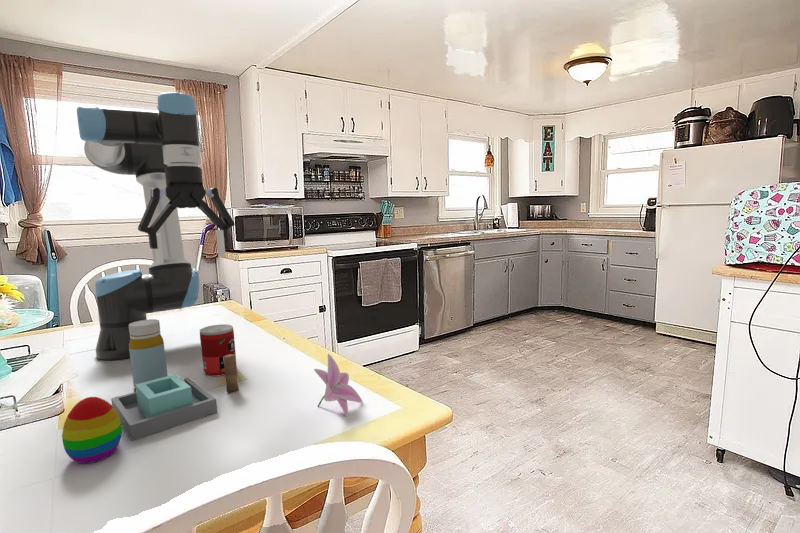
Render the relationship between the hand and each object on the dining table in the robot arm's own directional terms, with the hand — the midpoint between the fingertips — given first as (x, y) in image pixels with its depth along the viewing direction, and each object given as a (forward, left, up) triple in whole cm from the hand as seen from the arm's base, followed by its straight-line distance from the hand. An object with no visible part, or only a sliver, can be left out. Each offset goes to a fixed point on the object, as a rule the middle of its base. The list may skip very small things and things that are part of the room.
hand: (192, 260), depth 103 cm
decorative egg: (+21, -25, -29) cm, 44 cm away
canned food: (-3, +5, -29) cm, 29 cm away
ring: (+13, -12, -28) cm, 33 cm away
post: (+12, +2, -29) cm, 31 cm away
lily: (+36, +13, -29) cm, 48 cm away
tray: (+12, -12, -29) cm, 33 cm away
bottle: (-6, -10, -29) cm, 31 cm away
